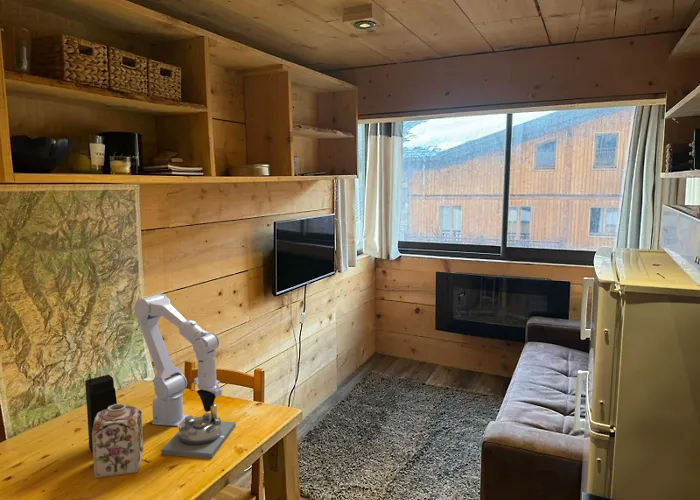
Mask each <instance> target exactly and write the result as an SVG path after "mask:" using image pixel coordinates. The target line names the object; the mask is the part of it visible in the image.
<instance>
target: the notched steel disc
mask: <svg viewBox="0 0 700 500" xmlns="http://www.w3.org/2000/svg"><path fill="white" fill-rule="evenodd" d="M221 421H222V419H221V417H220V416H219V417H218V404H217V403H214V404H211V411H210V412H205V413H203V415H202V416H196V417H195V416H193V415H191V414H190V415H188V416H187V417H185V420H184V421H183V422H182V423H181V424H179V426H178V432H179V440H180V441H181V442H182V443H184V444H188V445H202V444H207V443H210V442H212V441H214V440H216V439H217V438H219V437H220V435H221Z"/></svg>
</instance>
